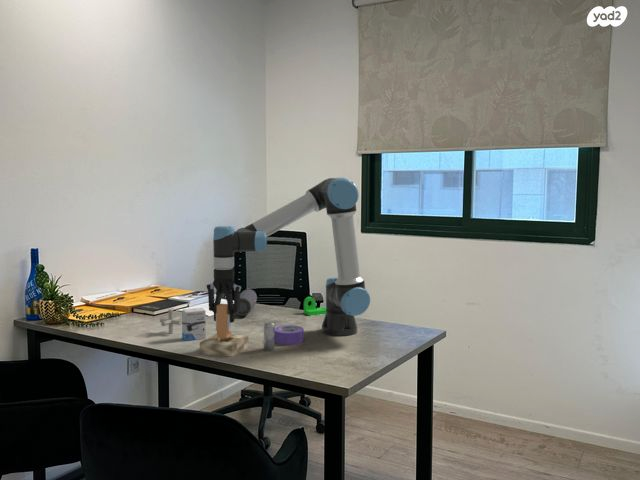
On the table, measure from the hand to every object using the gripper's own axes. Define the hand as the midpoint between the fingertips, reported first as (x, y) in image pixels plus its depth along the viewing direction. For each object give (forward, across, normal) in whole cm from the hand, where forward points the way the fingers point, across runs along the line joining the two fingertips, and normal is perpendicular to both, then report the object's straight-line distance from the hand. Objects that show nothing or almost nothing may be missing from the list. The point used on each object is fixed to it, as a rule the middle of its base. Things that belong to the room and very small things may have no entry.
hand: (224, 330), depth 215 cm
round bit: (+7, -16, -6) cm, 18 cm away
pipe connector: (+8, +31, -14) cm, 35 cm away
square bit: (+2, 0, 0) cm, 2 cm away
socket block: (+7, 0, 0) cm, 7 cm away
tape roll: (+8, -18, -20) cm, 28 cm away
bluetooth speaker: (+8, +18, -59) cm, 62 cm away
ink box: (+8, +18, -10) cm, 22 cm away
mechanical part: (+8, -15, -69) cm, 71 cm away
